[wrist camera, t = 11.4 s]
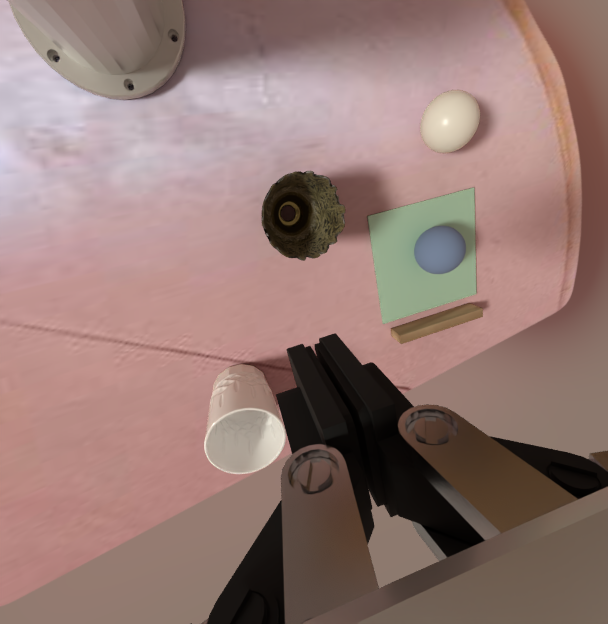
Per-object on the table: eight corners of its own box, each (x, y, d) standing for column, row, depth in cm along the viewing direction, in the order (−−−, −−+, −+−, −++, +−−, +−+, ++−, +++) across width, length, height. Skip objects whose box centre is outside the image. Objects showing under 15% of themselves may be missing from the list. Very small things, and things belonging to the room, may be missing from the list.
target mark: (367, 216, 37) (368, 216, 37) (473, 187, 39) (474, 187, 39) (382, 323, 42) (383, 324, 42) (475, 293, 44) (476, 294, 44)
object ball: (437, 278, 35) (412, 281, 40) (482, 264, 36) (451, 268, 41) (424, 228, 34) (400, 237, 40) (470, 214, 35) (440, 225, 41)
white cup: (278, 364, 41) (295, 412, 32) (262, 416, 43) (273, 476, 34) (216, 354, 38) (214, 403, 29) (202, 410, 40) (196, 472, 31)
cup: (329, 232, 37) (356, 240, 29) (270, 258, 36) (283, 273, 29) (306, 165, 34) (329, 156, 27) (242, 192, 33) (247, 191, 26)
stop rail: (390, 328, 43) (400, 335, 41) (469, 302, 45) (482, 308, 42) (391, 336, 43) (401, 344, 41) (469, 310, 45) (482, 316, 43)
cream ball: (471, 148, 31) (422, 169, 35) (497, 126, 33) (448, 149, 38) (450, 88, 29) (401, 119, 33) (479, 69, 31) (429, 100, 36)
